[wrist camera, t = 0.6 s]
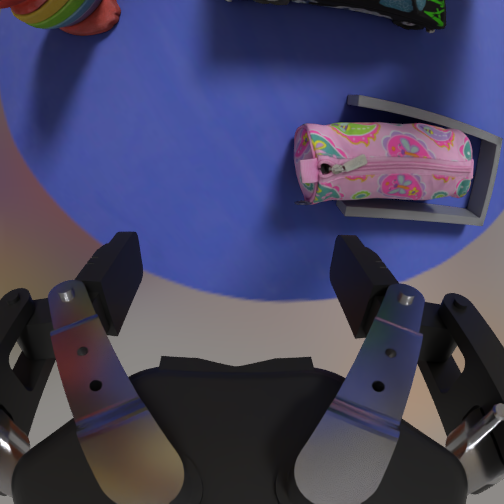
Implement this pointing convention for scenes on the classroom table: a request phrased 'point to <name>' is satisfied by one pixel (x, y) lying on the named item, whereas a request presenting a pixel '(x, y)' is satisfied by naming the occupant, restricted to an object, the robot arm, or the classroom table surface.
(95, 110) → the classroom table surface
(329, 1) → the toy van
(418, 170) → the pencil case
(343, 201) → the frame
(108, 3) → the stacking bear
